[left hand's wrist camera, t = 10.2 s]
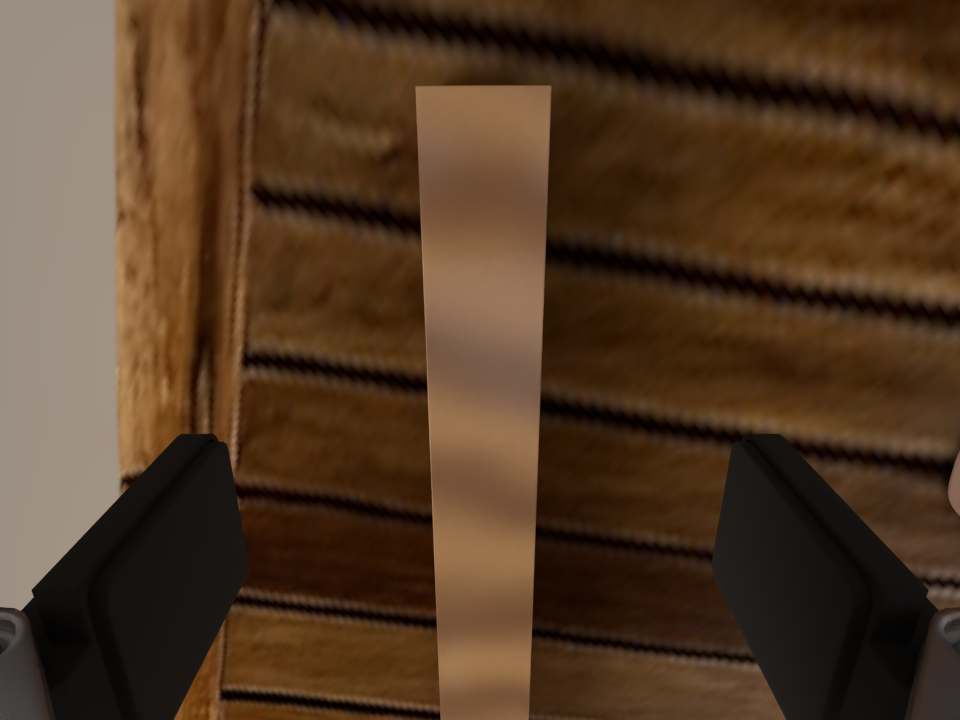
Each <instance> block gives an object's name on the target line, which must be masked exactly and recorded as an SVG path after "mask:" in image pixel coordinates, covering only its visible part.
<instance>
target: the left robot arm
mask: <svg viewBox="0 0 960 720" xmlns="http://www.w3.org/2000/svg"><path fill="white" fill-rule="evenodd" d="M247 568H248V559H247V553H246V547H245V541H244V536H243V530H242V524H241V519H240V513H239V507H238V502H237V496H236V490H235V485H234V479H233V473H232V468H231V462H230V456H229V451H228V447H227V445H226V443H225V442H219V441H218V439H217V437H216V436H215V435H214V434H180V435H179V436H178V437H177V438H176V439H175V440H174V441H173V442H172V443H171V444H170V445H169V446H168V447H167V448H166V449H165V450H164V451H163V452H162V453H161V454H160V455H159V456H158V458H157V459H156V460H155V461H154V462H153V463H152V464H151V465H150V466H149V467H148V468H147V469H146V470H145V471H144V472H143V473H142V474H141V475H140V476H139V478H138V479H137V480H136V481H135V482H134V483H133V484H132V485H131V486H130V487H129V488H128V489H127V490H126V491H125V492H124V493H123V494H122V495H121V496H120V498H119V499H118V500H117V501H116V502H115V503H114V504H113V505H112V506H111V507H110V508H109V509H108V510H107V511H106V512H105V513H104V514H103V515H102V517H101V518H100V519H99V520H98V521H97V522H96V523H95V524H94V525H93V526H92V527H91V528H90V529H89V530H88V531H87V532H86V533H85V534H84V535H83V537H82V538H81V539H80V540H79V541H78V542H77V543H76V544H75V545H74V546H73V547H72V548H71V549H70V550H69V551H68V552H67V553H66V554H65V555H64V557H63V558H62V559H61V560H60V561H59V562H58V563H57V564H56V565H55V566H54V567H53V568H52V569H51V570H50V571H49V572H48V573H47V574H46V575H45V576H44V578H43V579H42V580H41V581H40V582H39V583H38V584H37V585H36V586H35V587H34V588H33V589H32V593H33V596H34V598H33V599H32V600H31V601H30V602H29V603H28V604H27V605H26V606H25V607H24V609H22V610H21V611H19V610H17V609H15V608H3V607H0V720H174V718H175V716H176V714H177V712H178V710H179V708H180V706H181V704H182V702H183V700H184V698H185V696H186V694H187V692H188V690H189V688H190V686H191V684H192V682H193V681H194V679H195V677H196V675H197V673H198V671H199V669H200V667H201V665H202V663H203V661H204V659H205V657H206V655H207V653H208V651H209V649H210V647H211V645H212V643H213V641H214V639H215V637H216V635H217V633H218V631H219V629H220V628H221V626H222V624H223V622H224V620H225V618H226V616H227V614H228V612H229V610H230V608H231V606H232V604H233V602H234V600H235V598H236V596H237V594H238V592H239V590H240V588H241V586H242V584H243V582H244V580H245V578H246V574H247ZM712 568H713V574H714V578H715V580H716V582H717V584H718V586H719V588H720V590H721V592H722V594H723V596H724V598H725V600H726V602H727V604H728V606H729V608H730V610H731V612H732V614H733V616H734V618H735V620H736V622H737V624H738V626H739V628H740V629H741V631H742V633H743V635H744V637H745V639H746V641H747V643H748V645H749V647H750V649H751V651H752V653H753V655H754V657H755V659H756V661H757V663H758V665H759V667H760V669H761V671H762V673H763V675H764V677H765V679H766V681H767V682H768V684H769V686H770V688H771V690H772V692H773V694H774V696H775V698H776V700H777V702H778V704H779V706H780V708H781V710H782V712H783V714H784V716H785V718H786V720H960V607H957V608H945V609H943V610H941V611H939V610H938V609H937V608H936V607H935V606H934V605H933V604H932V603H931V602H930V601H929V600H928V599H927V598H926V596H927V593H928V589H927V588H926V587H925V586H924V585H923V584H922V583H921V582H920V581H919V580H918V579H917V578H916V576H915V575H914V574H913V573H912V572H911V571H910V570H909V569H908V568H907V567H906V566H905V565H904V564H903V563H902V562H901V561H900V560H899V559H898V558H897V556H896V555H895V554H894V553H893V552H892V551H891V550H890V549H889V548H888V547H887V546H886V545H885V544H884V543H883V542H882V541H881V540H880V539H879V538H878V536H877V535H876V534H875V533H874V532H873V531H872V530H871V529H870V528H869V527H868V526H867V525H866V524H865V523H864V522H863V521H862V520H861V519H860V518H859V516H858V515H857V514H856V513H855V512H854V511H853V510H852V509H851V508H850V507H849V506H848V505H847V504H846V503H845V502H844V501H843V500H842V499H841V498H840V496H839V495H838V494H837V493H836V492H835V491H834V490H833V489H832V488H831V487H830V486H829V485H828V484H827V483H826V482H825V481H824V480H823V479H822V478H821V476H820V475H819V474H818V473H817V472H816V471H815V470H814V469H813V468H812V467H811V466H810V465H809V464H808V463H807V462H806V461H805V460H804V459H803V458H802V457H801V455H800V454H799V453H798V452H797V451H796V450H795V449H794V448H793V447H792V446H791V445H790V444H789V443H788V442H787V441H786V440H785V439H784V438H783V437H782V436H781V435H780V434H746V435H745V436H744V437H743V439H742V441H741V442H735V443H734V445H733V447H732V451H731V456H730V462H729V468H728V473H727V479H726V485H725V490H724V496H723V502H722V507H721V513H720V519H719V524H718V530H717V536H716V541H715V547H714V553H713V559H712Z"/></svg>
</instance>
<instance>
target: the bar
mask: <svg viewBox="0 0 960 720" xmlns="http://www.w3.org/2000/svg"><path fill="white" fill-rule="evenodd" d="M415 89H416V114H417V139H418V164H419V189H420V214H421V239H422V264H423V289H424V314H425V339H426V364H427V389H428V414H429V439H430V464H431V489H432V514H433V539H434V564H435V589H436V614H437V639H438V664H439V689H440V714H441V720H529V699H530V672H531V644H532V616H533V589H534V561H535V533H536V505H537V478H538V450H539V422H540V395H541V367H542V339H543V311H544V284H545V256H546V228H547V200H548V173H549V145H550V117H551V90H552V86H551V85H438V86H416V87H415Z"/></svg>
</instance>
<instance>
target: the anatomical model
mask: <svg viewBox="0 0 960 720" xmlns="http://www.w3.org/2000/svg"><path fill="white" fill-rule="evenodd" d="M948 497H949V501H950V503H951V505H952V507H953V508H954V510H955V511H956V512H957V514H958V515H959V516H960V450H959V453H958V455H957V458H956V461H955V463H954V467H953V470H952V474H951V477H950V481H949V486H948Z"/></svg>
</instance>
